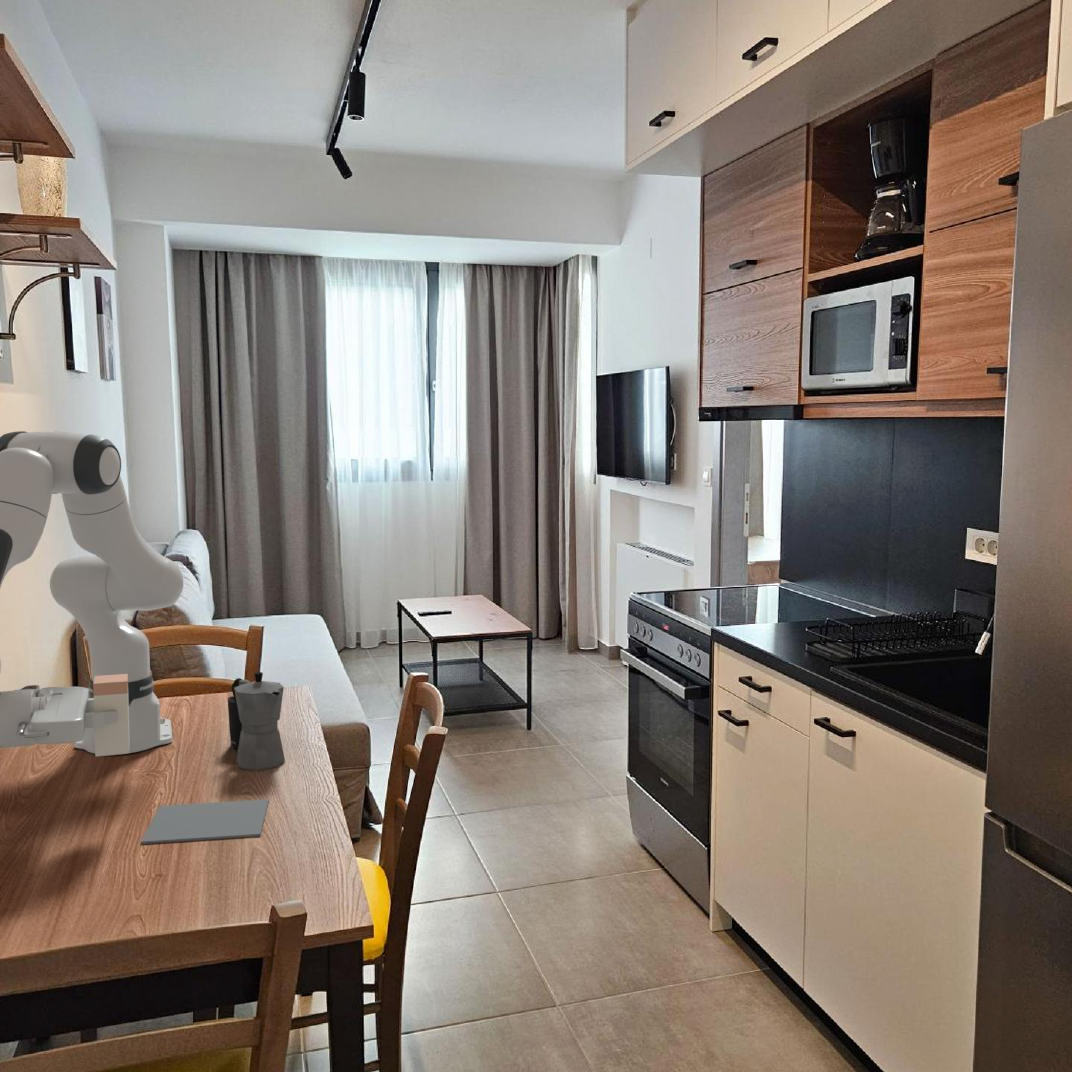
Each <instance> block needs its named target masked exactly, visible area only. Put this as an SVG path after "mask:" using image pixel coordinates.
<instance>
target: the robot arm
mask: <svg viewBox="0 0 1072 1072" xmlns="http://www.w3.org/2000/svg"><path fill="white" fill-rule="evenodd" d="M121 471H122V459H121V455H120V452H119V450H118V448H117V446H115V444H114V443H113V442H112V441H111V440H110V439H108V438H105V437H103V436H100V435H96V434H87V435H86V434H82V433H75V432H69V431H60V430H57V431H55V430H54V431H31V432H30V431H25V430H20V431H18V430H17V431H11V432H7V433H4V434H3V435H1V436H0V589H1V587H2V584H3V582H4V579H5V577H6V576H7V574H8V573H9V572H10V571H11V569H13V568H14V567H15V566H17V565H19V564H22V563H24V562H26V561H28V559H30V558H31V557H32V556H33V554H34V552H35V550H36V548H37V547H38V545H39V542H40V540H41V537H42V536H43V533H44V530H45V526H46V523H47V519H48V516H49V511H50V507H51V500H52V495H57V494H61V497H62V502H63V506H64V508H65V513H66V516H67V520H68V524H69V527H70V531H71V535H72V538H73V539H74V541H75V543H76V544H77V545H78V546H79V547H80V548H81V549H82V550H84V551H87V552H88V553H89V554H93V556H92V555H85V556H79V557H78V556H77V557H74V558H69V559H63V560H62V561H60V562H59V563H58V564H57V565H56V566H55V567H54V568H53V571H52V572H51V575H50V579H49V590H50V593H51V596H52V597H53V599H54V601H55V602H56V604H58V605H59V606H60V607H62V608H63V609H65V610H66V611H67V612H68V613H70V614H71V615H72V617H74V619H75V620H76V621H77V623H78V624H79V626H80V627H81V629H82V630H83V634H85V638H86V642H87V643H88V644H87V645H88V650H89V657H90V658H89V660H90V673H91V679H89V686H88V687H83V686H48V687H47V686H46V687H43V688H41V687H40V685H38V684H32V685H31V684H30V685H25V686H24V687H21V688H20V689H15V690H5V691H0V749H8V748H19V747H20V748H21V747H31V746H36V745H60V744H61V745H62V744H73V743H74V748H75V749H76V748H77V749H80V750H85V751H86V752H88V753H91V754H95V727H96V726H100V725H103V724H107V723H115V722H116V721H117V711H116V710H105V712H99V713H94V693H93V682H94V677H95V676H103V675H117V674H128V702H129V739H130V746H129V753H128V754H132V753H137V752H142V751H146V750H149V749H152V748H154V747H158V746H161V745H166V744H170V743H172V742H173V731H172V722H171V720H170V719H168V718H164V717H161V708H160V707H161V706H160V700H159V699H158V697H157V696H156V694H155V693H154V690H155V689H154V688H155V687H154V684H155V683H154V682H155V681H154V679H153V671H152V670H151V665H150V664H151V663H150V661H151V660H150V642H149V639H148V638H147V636H146V634H145V633H144V632H142V631H141V630H140V629H138V628H137V627H135V626H131V625H130V624H129V623H128V622H127V621H126V620H125V619H124V617H123V615H122V613H121V611H135V612H136V611H138V612H139V611H145V612H146V611H148V612H149V611H154V610H160V609H164V608H169V607H172V606H173V605H174V604H176V603H177V601H179V599H180V597H181V595H182V594H183V593H182V592H183V589H184V577H183V574H182V571H181V569H180V567H179V566H178V564H177V563H176V562H175V561H173V559H169V558H168V557H166V556H164V555H162V554H160V553H159V552H158V551H157V550H155V549H154V547H152V546H151V545H150V544H149V543H148V542H147V541H146V539H144V537H143V536H142V535H141V533H140V531H139V530H138V527H136V523H135V521H134V518H133V515H132V512H131V508H130V505H129V502H128V497H127V495H126V489H125V487H124V482H123V480H122V478H121ZM1 661H2V660H1V659H0V673H1V671H2V662H1Z"/></svg>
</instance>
